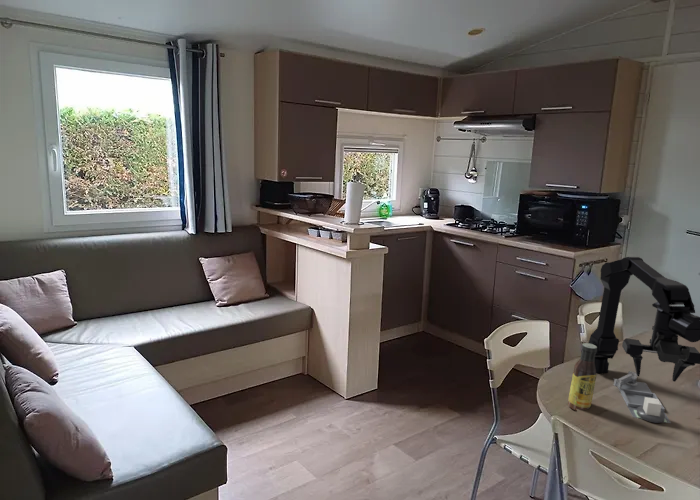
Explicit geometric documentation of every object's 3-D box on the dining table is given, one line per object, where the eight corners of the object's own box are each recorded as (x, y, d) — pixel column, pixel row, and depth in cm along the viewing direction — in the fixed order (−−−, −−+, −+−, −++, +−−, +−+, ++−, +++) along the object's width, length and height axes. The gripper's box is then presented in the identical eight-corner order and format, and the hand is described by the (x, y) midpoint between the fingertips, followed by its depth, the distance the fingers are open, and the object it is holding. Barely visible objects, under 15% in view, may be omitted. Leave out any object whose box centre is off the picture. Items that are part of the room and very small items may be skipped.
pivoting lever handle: (612, 387, 162) (613, 379, 161) (629, 379, 169) (630, 370, 168) (620, 391, 160) (621, 382, 159) (637, 382, 167) (638, 373, 166)
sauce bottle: (576, 414, 149) (586, 350, 145) (562, 403, 155) (571, 342, 150) (595, 411, 151) (605, 349, 146) (581, 401, 157) (590, 340, 152)
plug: (640, 420, 144) (643, 404, 143) (633, 407, 151) (636, 393, 150) (668, 424, 143) (671, 409, 142) (660, 412, 149) (663, 397, 148)
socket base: (632, 420, 147) (633, 414, 146) (612, 381, 170) (613, 375, 170) (670, 427, 144) (672, 419, 144) (645, 386, 168) (646, 380, 167)
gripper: (636, 333, 138) (626, 386, 141) (715, 343, 133) (703, 397, 137) (626, 319, 148) (617, 368, 152) (699, 327, 144) (688, 378, 147)
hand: (655, 378), depth 147 cm, fingers open, 9 cm apart
